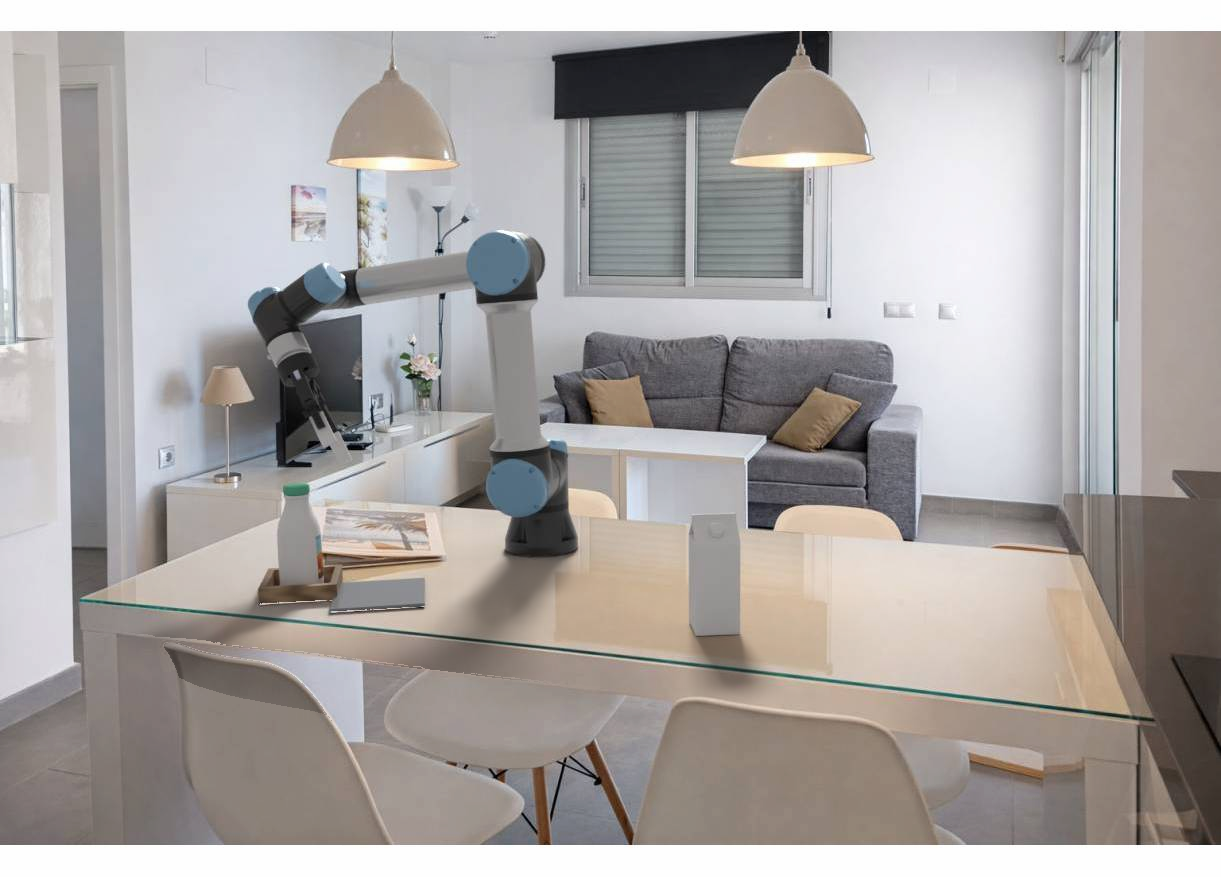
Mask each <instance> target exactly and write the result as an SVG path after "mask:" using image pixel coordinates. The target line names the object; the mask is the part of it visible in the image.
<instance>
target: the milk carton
mask: <svg viewBox="0 0 1221 877" xmlns="http://www.w3.org/2000/svg"><path fill="white" fill-rule="evenodd" d="M737 522H738V521H737V513H736V512H723V513H718V512H717V513H694V514H691V523H690V527H689V530H688V622H689V624H690V626H691V629H692V631H693V632H694V635H695V637H705V636H706V637H707V636H728V635H740V634H741V537H740V533H739V527H738V523H737Z"/></svg>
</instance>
